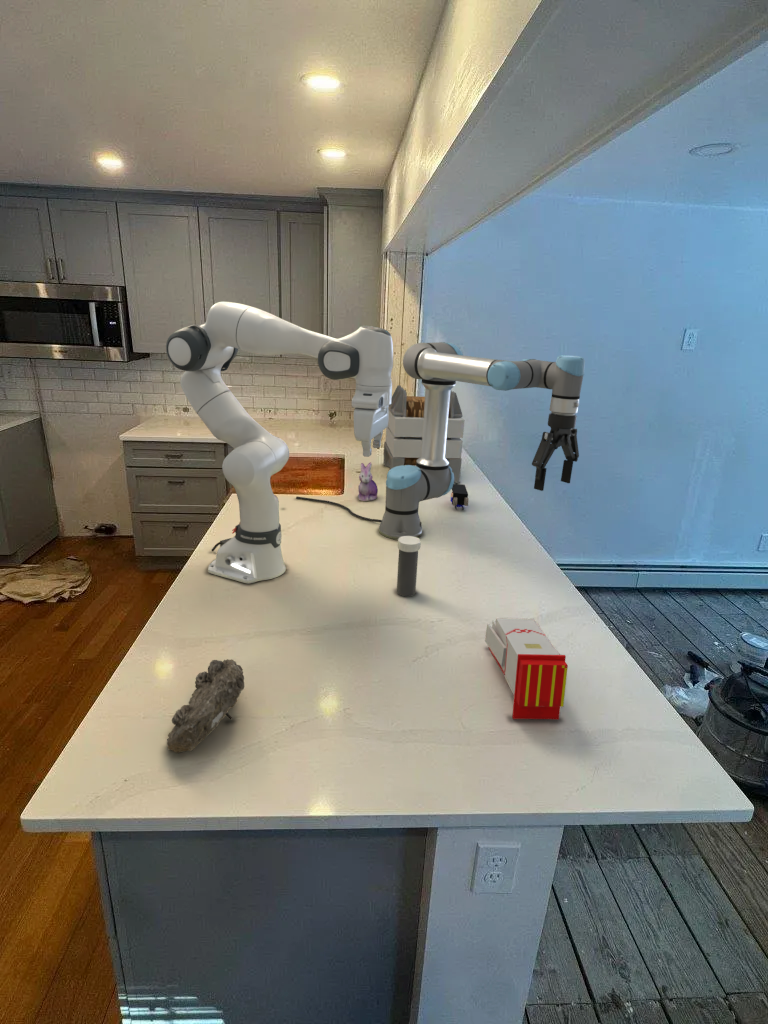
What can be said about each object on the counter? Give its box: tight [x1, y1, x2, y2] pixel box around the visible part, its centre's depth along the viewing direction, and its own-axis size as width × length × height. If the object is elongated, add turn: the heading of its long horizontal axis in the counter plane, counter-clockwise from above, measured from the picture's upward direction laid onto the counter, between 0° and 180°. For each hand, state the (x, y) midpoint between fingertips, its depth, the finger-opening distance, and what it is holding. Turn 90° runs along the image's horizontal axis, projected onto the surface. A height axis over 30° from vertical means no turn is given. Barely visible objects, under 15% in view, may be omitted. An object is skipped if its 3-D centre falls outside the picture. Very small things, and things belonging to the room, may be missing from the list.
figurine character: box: [449, 483, 470, 511], centre depth 230 cm, size 7×8×15 cm
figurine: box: [357, 461, 379, 502], centre depth 233 cm, size 9×10×15 cm
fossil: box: [166, 658, 245, 754], centre depth 106 cm, size 22×10×15 cm
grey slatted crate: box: [383, 384, 465, 484], centre depth 268 cm, size 34×33×41 cm
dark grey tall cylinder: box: [396, 549, 419, 598], centre depth 157 cm, size 5×5×15 cm
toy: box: [484, 617, 569, 720], centre depth 122 cm, size 12×13×30 cm
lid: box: [396, 536, 421, 552], centre depth 154 cm, size 6×6×2 cm
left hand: (372, 451), depth 143 cm, fingers open, 8 cm apart
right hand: (552, 485), depth 166 cm, fingers open, 13 cm apart
